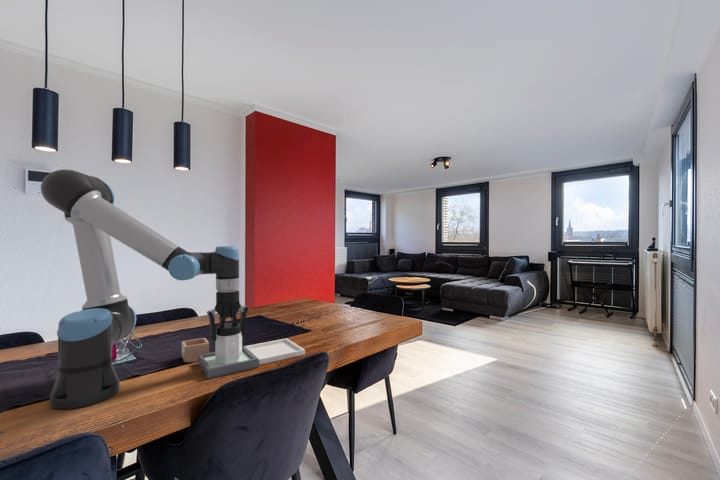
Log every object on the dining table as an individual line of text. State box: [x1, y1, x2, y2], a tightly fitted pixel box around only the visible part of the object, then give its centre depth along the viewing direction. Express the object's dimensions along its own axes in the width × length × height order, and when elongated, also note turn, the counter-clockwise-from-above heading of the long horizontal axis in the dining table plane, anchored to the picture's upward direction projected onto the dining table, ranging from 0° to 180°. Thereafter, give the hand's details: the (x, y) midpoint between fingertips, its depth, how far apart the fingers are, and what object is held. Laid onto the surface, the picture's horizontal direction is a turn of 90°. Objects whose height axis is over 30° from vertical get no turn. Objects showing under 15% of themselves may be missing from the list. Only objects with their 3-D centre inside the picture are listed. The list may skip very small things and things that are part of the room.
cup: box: [181, 337, 210, 363], centre depth 122 cm, size 8×8×6 cm
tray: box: [244, 337, 306, 366], centre depth 128 cm, size 18×18×2 cm
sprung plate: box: [204, 351, 250, 368], centre depth 115 cm, size 13×13×1 cm
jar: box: [214, 322, 243, 364], centre depth 115 cm, size 9×8×12 cm
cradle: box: [198, 345, 259, 380], centre depth 115 cm, size 16×16×3 cm
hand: (228, 357), depth 115 cm, fingers closed on jar, 3 cm apart
